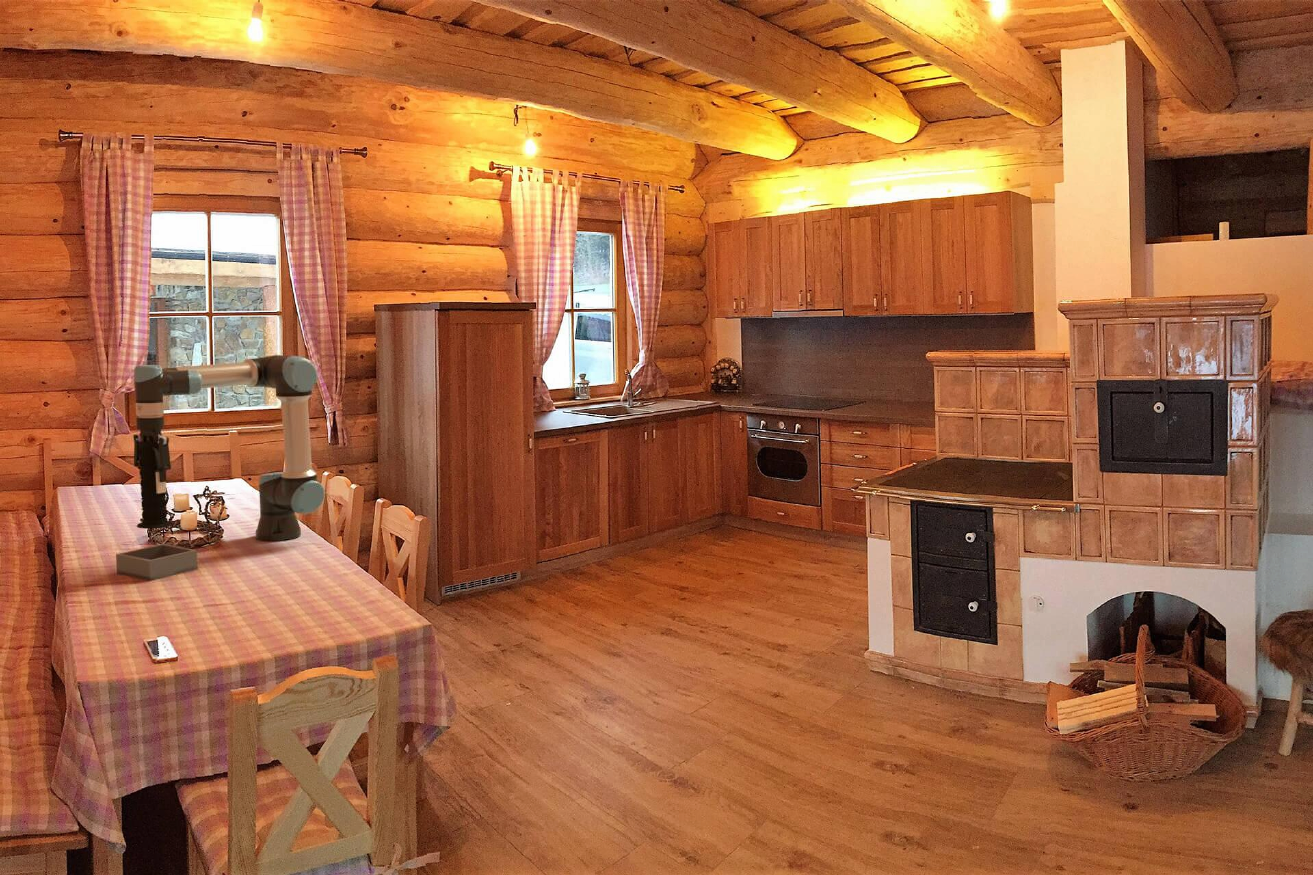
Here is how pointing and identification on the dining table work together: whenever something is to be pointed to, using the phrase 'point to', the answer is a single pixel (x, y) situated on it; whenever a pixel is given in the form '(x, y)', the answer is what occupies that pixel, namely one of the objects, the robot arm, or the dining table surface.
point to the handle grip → (151, 490)
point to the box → (156, 562)
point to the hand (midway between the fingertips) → (153, 491)
